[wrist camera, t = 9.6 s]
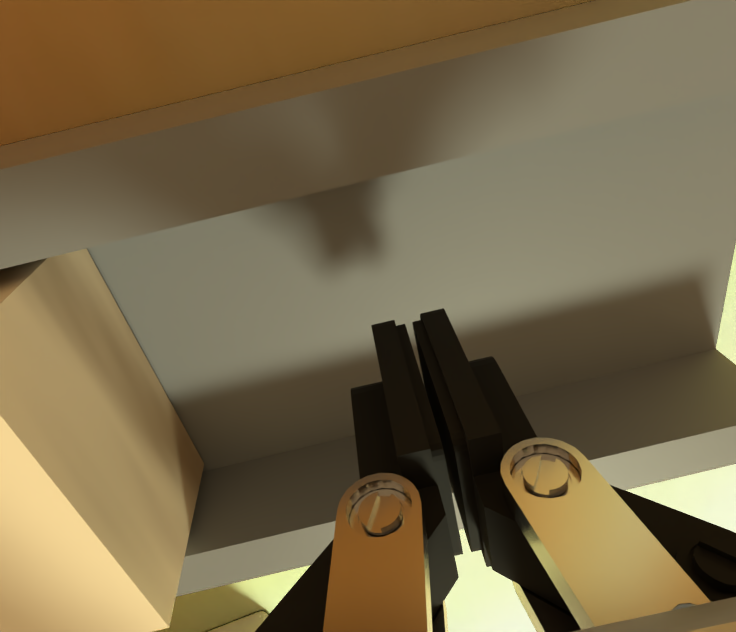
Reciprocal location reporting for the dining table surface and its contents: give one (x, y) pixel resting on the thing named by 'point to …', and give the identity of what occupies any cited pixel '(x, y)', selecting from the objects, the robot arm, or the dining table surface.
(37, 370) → the block
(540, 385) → the chute
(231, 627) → the coffee box
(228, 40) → the dining table surface
